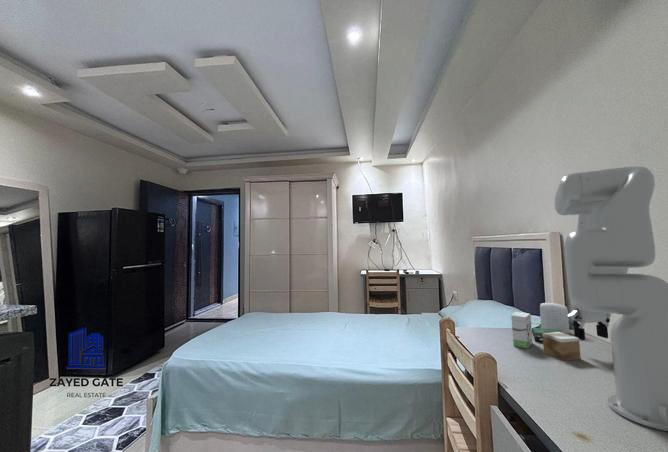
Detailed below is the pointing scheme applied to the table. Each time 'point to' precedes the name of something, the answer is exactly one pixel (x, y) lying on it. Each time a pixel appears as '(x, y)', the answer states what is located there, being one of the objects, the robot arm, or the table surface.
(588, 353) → the table surface
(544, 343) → the block
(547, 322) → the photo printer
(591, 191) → the robot arm
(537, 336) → the disk drive
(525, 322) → the ink box
